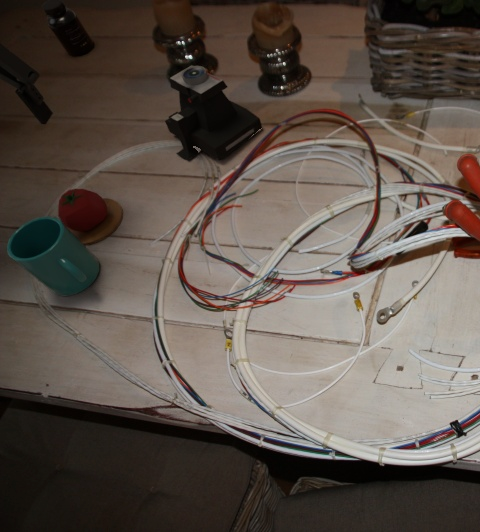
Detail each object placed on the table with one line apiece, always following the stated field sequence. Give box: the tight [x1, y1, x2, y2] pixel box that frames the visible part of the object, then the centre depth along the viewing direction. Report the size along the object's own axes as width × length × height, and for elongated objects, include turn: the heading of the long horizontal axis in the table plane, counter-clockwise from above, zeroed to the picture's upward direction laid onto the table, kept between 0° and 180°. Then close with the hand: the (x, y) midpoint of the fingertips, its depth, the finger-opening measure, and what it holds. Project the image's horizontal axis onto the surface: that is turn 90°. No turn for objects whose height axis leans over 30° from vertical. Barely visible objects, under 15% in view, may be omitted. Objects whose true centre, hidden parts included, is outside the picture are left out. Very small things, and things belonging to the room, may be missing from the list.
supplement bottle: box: [41, 0, 94, 57], centre depth 133 cm, size 7×7×12 cm
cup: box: [6, 216, 100, 297], centre depth 91 cm, size 9×12×11 cm
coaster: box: [67, 197, 124, 246], centre depth 103 cm, size 11×11×1 cm
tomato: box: [57, 188, 107, 232], centre depth 100 cm, size 8×8×7 cm
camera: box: [164, 64, 263, 161], centre depth 109 cm, size 16×14×15 cm
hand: (10, 118), depth 90 cm, fingers open, 13 cm apart
